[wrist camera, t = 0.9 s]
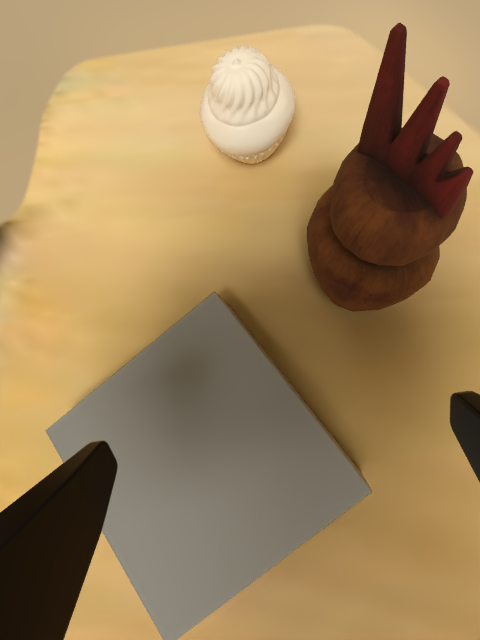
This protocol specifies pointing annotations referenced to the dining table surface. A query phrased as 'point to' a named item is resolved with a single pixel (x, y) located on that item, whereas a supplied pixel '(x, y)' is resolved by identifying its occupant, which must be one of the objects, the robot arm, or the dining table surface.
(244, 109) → the muffin
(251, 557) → the plinth
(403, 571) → the dining table surface
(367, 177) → the wooden figurine
